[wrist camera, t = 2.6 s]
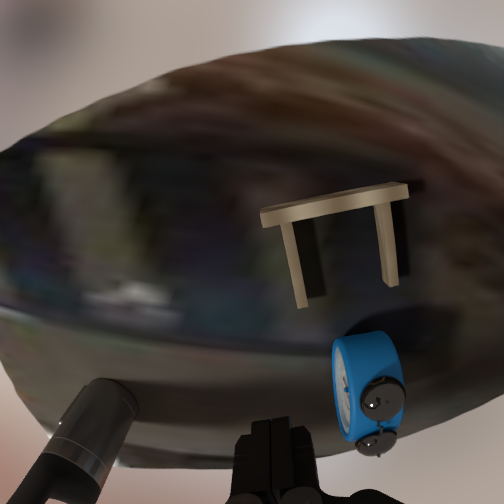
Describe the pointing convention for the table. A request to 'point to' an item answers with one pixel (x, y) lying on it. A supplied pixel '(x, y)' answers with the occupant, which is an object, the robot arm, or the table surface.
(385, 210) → the wooden staple shape
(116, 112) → the table surface
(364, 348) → the alarm clock
